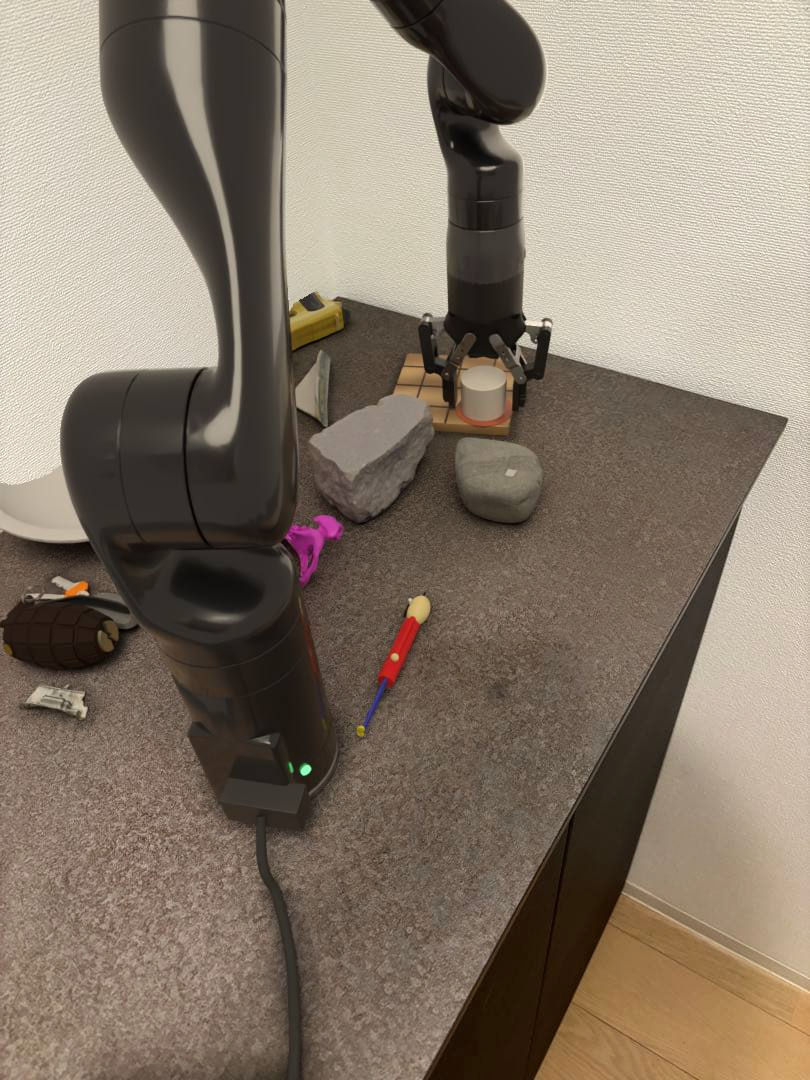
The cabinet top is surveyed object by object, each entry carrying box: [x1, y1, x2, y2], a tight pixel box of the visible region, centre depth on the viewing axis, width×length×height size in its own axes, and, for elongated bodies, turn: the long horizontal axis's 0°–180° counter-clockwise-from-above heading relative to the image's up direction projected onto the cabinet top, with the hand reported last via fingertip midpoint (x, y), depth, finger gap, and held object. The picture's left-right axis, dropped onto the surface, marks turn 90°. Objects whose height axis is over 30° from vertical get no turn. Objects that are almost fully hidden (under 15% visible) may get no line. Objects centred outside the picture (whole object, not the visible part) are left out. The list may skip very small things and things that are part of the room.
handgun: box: [289, 290, 352, 351], centre depth 105 cm, size 2×19×12 cm
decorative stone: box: [307, 393, 436, 524], centre depth 81 cm, size 15×7×10 cm
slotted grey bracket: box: [16, 683, 88, 721], centre depth 64 cm, size 6×2×3 cm
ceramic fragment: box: [295, 349, 331, 428], centre depth 94 cm, size 14×5×4 cm, turn 1°
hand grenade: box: [0, 583, 130, 670], centre depth 67 cm, size 5×7×11 cm
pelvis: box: [284, 514, 344, 590], centre depth 71 cm, size 12×10×7 cm
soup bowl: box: [0, 465, 90, 544], centre depth 82 cm, size 24×24×7 cm
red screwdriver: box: [356, 591, 431, 738], centre depth 65 cm, size 3×2×15 cm
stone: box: [454, 436, 544, 524], centre depth 78 cm, size 9×9×10 cm
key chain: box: [21, 575, 139, 630], centre depth 72 cm, size 13×4×2 cm, turn 65°
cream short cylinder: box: [461, 366, 507, 421], centre depth 87 cm, size 5×5×4 cm
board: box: [392, 352, 514, 437], centre depth 93 cm, size 14×14×1 cm
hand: (484, 404), depth 88 cm, fingers open, 6 cm apart
